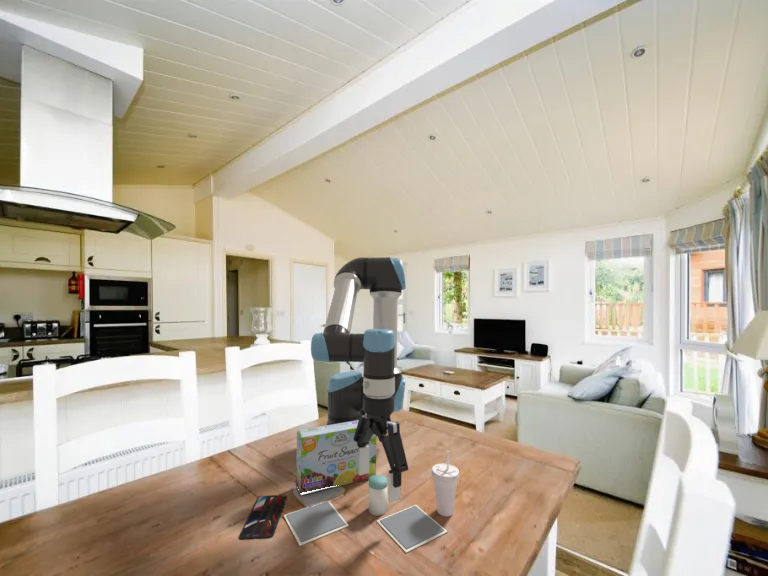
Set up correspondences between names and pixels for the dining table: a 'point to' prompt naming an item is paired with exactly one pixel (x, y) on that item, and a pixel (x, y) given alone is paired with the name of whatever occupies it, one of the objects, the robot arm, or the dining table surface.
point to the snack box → (330, 456)
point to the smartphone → (263, 517)
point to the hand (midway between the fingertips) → (378, 486)
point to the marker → (378, 495)
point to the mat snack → (314, 522)
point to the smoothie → (445, 486)
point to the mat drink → (411, 528)
